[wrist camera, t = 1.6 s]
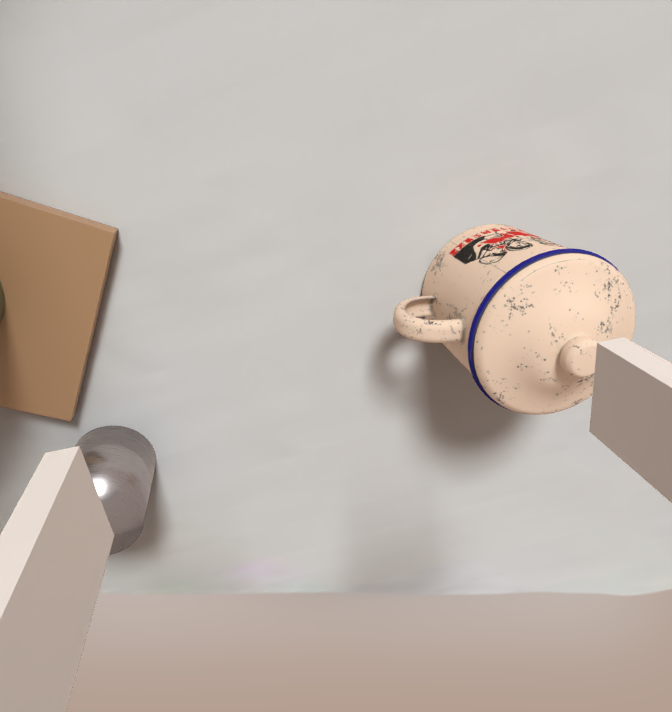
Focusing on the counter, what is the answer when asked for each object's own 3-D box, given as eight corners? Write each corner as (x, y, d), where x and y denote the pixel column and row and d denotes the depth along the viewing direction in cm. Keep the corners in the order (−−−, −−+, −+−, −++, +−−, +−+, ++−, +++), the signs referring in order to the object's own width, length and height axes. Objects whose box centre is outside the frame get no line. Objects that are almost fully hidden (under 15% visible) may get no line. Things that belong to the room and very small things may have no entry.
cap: (65, 483, 36) (36, 549, 30) (81, 417, 34) (54, 474, 29) (145, 497, 37) (132, 562, 32) (164, 435, 36) (153, 492, 30)
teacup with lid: (557, 217, 35) (700, 261, 24) (534, 348, 38) (650, 435, 28) (375, 221, 33) (445, 272, 22) (370, 359, 36) (428, 458, 26)
